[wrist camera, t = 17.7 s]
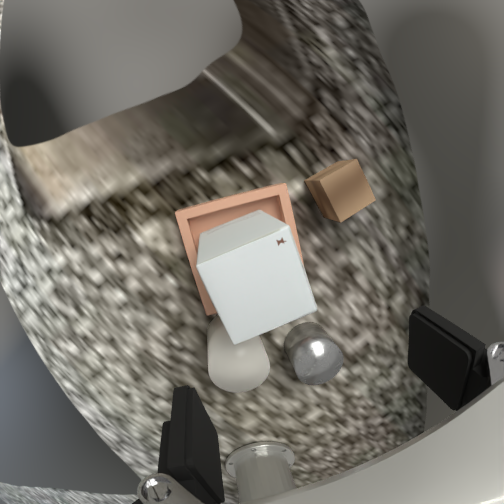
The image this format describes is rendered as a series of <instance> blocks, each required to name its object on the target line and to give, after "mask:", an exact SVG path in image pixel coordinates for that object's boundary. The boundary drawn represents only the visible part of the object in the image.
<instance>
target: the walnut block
mask: <svg viewBox="0 0 504 504" xmlns="http://www.w3.org/2000/svg"><path fill="white" fill-rule="evenodd" d="M304 181H305V183H306V185H307V187H308V188H309V190H310V192H311V194H312V196H313V198H314V200H315V202H316V204H317V206H318V208H319V209H320V211H321V213H322V215H323V217H324V218H328V219H331V220H334V221H337V222H340V223H341V222H342V221H344V220H345V219H347V218H349V217H350V216H352V215H353V214H355V213H356V212H358V211H360V210H361V209H363V208H364V207H366V206H367V205H369V204H370V203H372V202H374V201H375V197H374V195H373V193H372V190H371V188H370V186H369V184H368V182H367V179H366V177H365V175H364V173H363V171H362V169H361V167H360V165H359V163H358V161H357V159H353V160H346V161H338V162H336V163H334V164H333V165H331V166H329V167H327V168H325V169H324V170H322V171H320V172H318V173H317V174H315V175H313V176H311V177H310V178H308V179H306V180H304Z"/></svg>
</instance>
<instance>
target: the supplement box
mask: <svg viewBox="0 0 504 504" xmlns="http://www.w3.org/2000/svg"><path fill="white" fill-rule="evenodd" d="M196 268H197V270H198V273H199V275H200V277H201V280H202V282H203V284H204V286H205V288H206V290H207V293H208V295H209V297H210V299H211V301H212V303H213V305H214V307H215V309H216V311H217V313H218V315H219V317H220V319H221V321H222V323H223V325H224V327H225V329H226V331H227V333H228V335H229V337H230V339H231V341H232V342H233V344H234V345H236V344H238V343H241V342H243V341H246V340H248V339H251V338H253V337H256V336H258V335H261V334H263V333H266V332H268V331H270V330H273V329H275V328H277V327H280V326H282V325H285V324H287V323H290V322H292V321H294V320H297V319H299V318H302V317H304V316H306V315H309V314H311V313H313V312H315V311H317V306H316V303H315V299H314V296H313V294H312V290H311V287H310V284H309V281H308V278H307V275H306V272H305V269H304V265H303V263H302V261H301V258H300V255H299V252H298V249H297V246H296V243H295V240H294V238H293V235H292V232H291V229H290V226H289V225H287V224H285V223H284V222H282V221H280V220H278V219H276V218H274V217H273V216H271V215H269V214H267V213H265V212H263V211H261V210H260V209H259V210H256V211H254V212H251V213H249V214H246V215H244V216H241V217H239V218H236V219H234V220H231V221H229V222H226V223H224V224H221V225H219V226H216V227H214V228H211V229H209V230H207V231H204V232H202V233H200V237H199V245H198V255H197V264H196Z"/></svg>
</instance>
